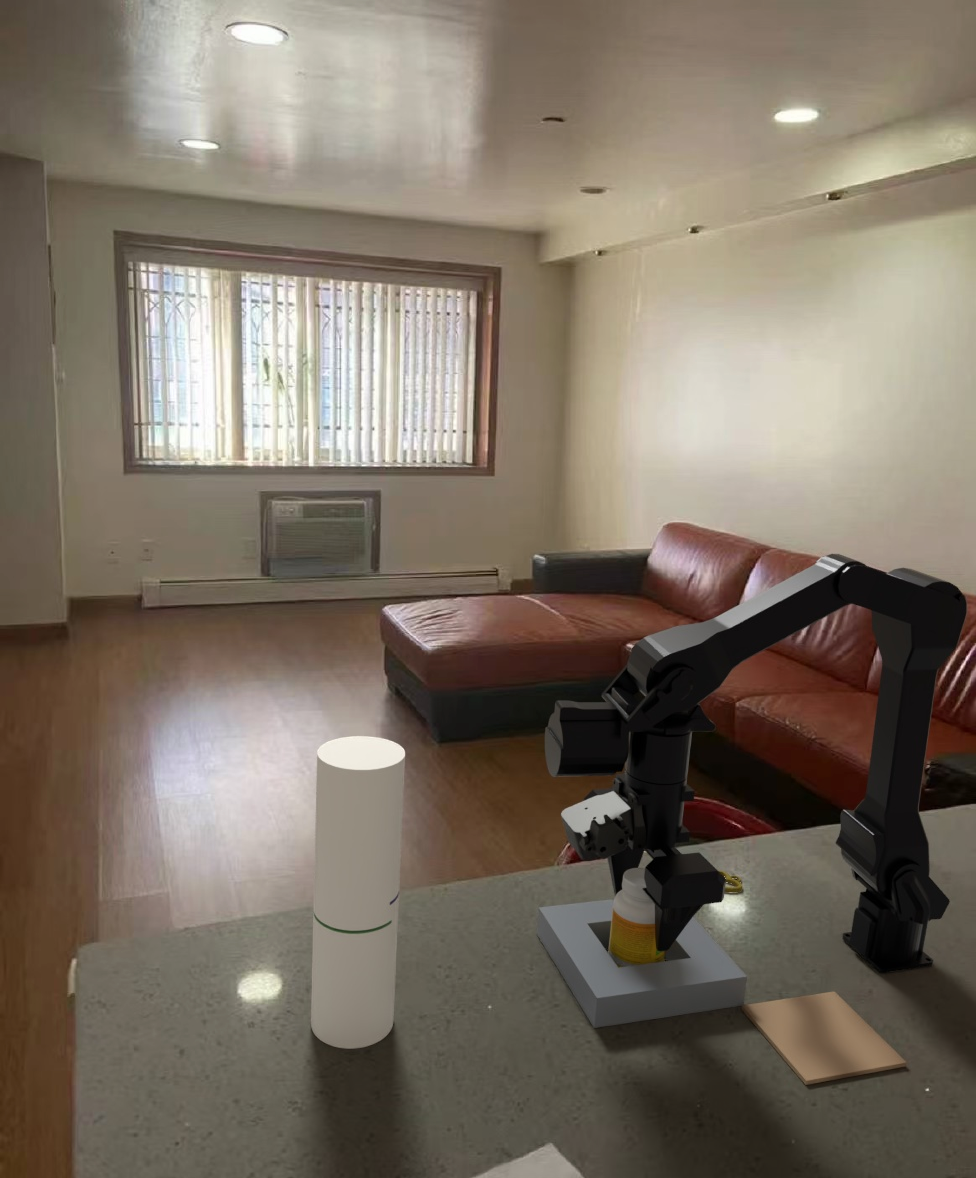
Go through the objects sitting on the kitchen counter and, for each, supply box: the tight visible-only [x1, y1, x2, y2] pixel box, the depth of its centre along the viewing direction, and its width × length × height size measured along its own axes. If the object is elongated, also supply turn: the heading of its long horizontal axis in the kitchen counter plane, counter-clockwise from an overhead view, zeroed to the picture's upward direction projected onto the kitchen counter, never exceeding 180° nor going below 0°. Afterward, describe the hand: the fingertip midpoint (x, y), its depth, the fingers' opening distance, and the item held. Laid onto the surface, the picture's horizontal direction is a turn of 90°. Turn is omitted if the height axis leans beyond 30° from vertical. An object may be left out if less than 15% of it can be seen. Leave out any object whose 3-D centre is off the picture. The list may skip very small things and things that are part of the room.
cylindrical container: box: [310, 735, 406, 1050], centre depth 83 cm, size 7×7×25 cm
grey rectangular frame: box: [536, 898, 748, 1029], centre depth 96 cm, size 15×15×3 cm
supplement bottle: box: [607, 867, 665, 968], centre depth 95 cm, size 5×5×10 cm
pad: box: [741, 991, 907, 1086], centre depth 87 cm, size 10×10×1 cm
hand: (640, 922), depth 95 cm, fingers open, 9 cm apart
